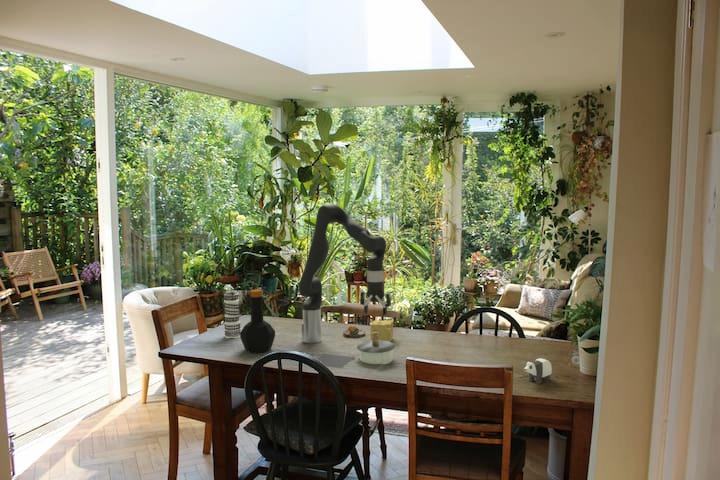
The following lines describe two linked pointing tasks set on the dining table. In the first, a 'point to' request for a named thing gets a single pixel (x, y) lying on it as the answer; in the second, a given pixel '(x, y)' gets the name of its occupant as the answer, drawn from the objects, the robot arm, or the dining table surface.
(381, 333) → the cheese
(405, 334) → the dining table surface
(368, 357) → the bowl
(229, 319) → the decorative candle
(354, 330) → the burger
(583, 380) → the dining table surface
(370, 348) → the lid
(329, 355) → the mat
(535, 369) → the giant panda
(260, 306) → the bottle
